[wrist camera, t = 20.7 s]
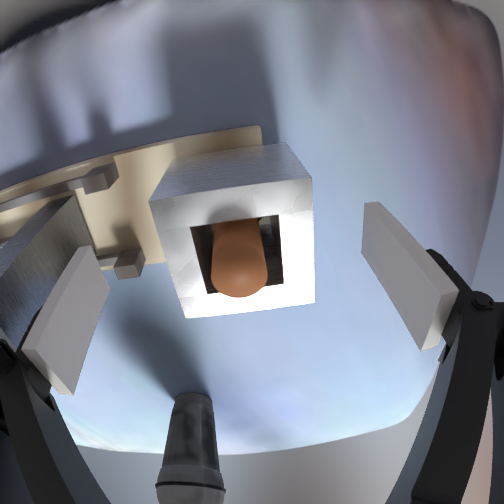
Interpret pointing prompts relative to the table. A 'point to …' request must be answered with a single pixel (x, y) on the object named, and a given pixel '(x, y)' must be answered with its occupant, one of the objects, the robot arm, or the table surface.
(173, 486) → the beverage cup
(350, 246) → the table surface
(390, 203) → the table surface
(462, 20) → the table surface
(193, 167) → the link
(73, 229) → the grey l-shaped block
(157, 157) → the board
